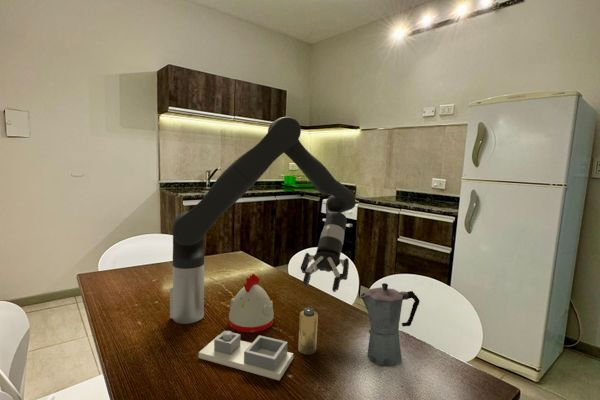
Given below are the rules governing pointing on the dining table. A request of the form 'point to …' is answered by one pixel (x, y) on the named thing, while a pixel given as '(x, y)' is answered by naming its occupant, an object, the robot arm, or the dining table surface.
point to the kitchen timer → (251, 308)
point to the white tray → (249, 354)
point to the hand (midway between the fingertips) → (319, 288)
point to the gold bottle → (308, 331)
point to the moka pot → (386, 323)
